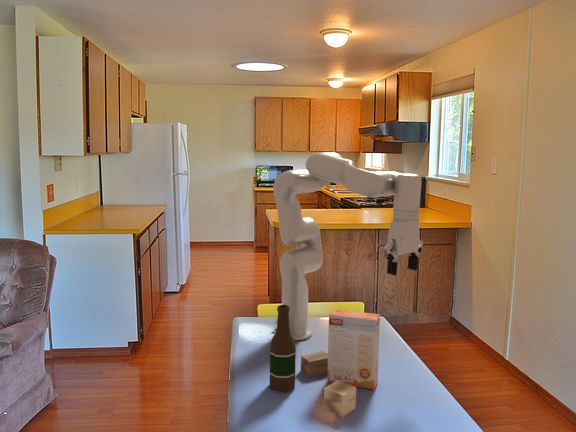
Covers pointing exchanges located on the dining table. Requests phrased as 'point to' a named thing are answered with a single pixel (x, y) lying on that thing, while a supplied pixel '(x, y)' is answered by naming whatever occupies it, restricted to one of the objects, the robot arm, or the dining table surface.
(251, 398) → the dining table surface
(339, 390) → the maple block
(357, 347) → the cracker box
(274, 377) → the beer bottle
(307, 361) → the walnut block
